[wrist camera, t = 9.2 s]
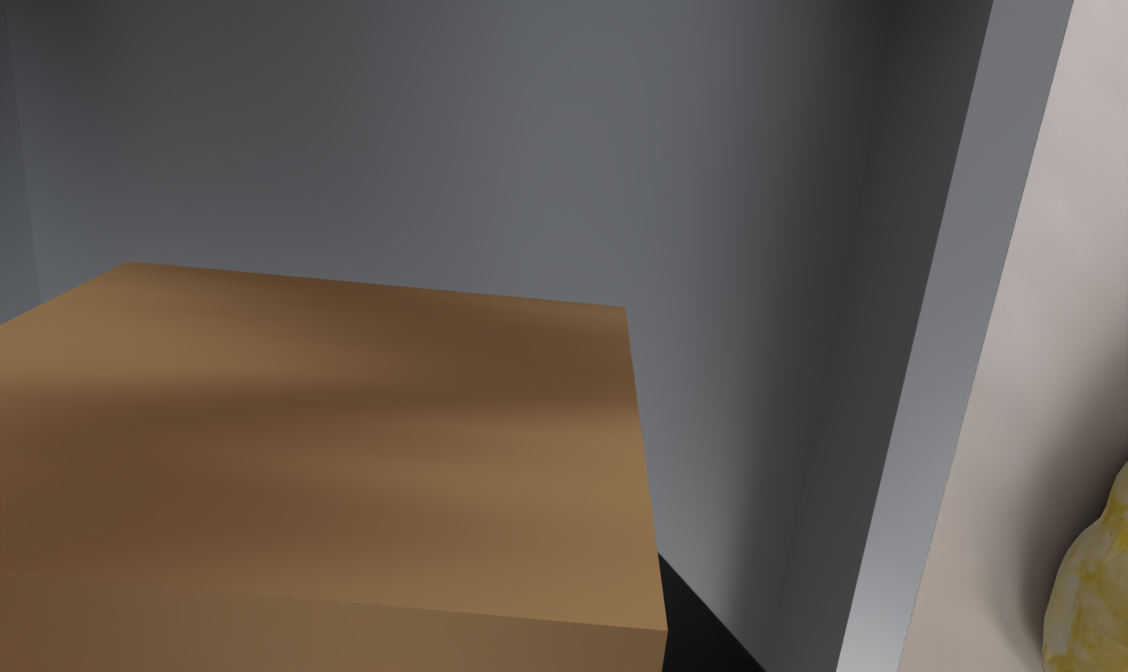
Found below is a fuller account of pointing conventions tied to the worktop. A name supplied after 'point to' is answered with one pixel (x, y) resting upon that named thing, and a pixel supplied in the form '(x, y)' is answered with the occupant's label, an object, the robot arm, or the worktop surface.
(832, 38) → the tray
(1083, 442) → the worktop surface
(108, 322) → the wooden cube
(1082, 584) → the bread roll
